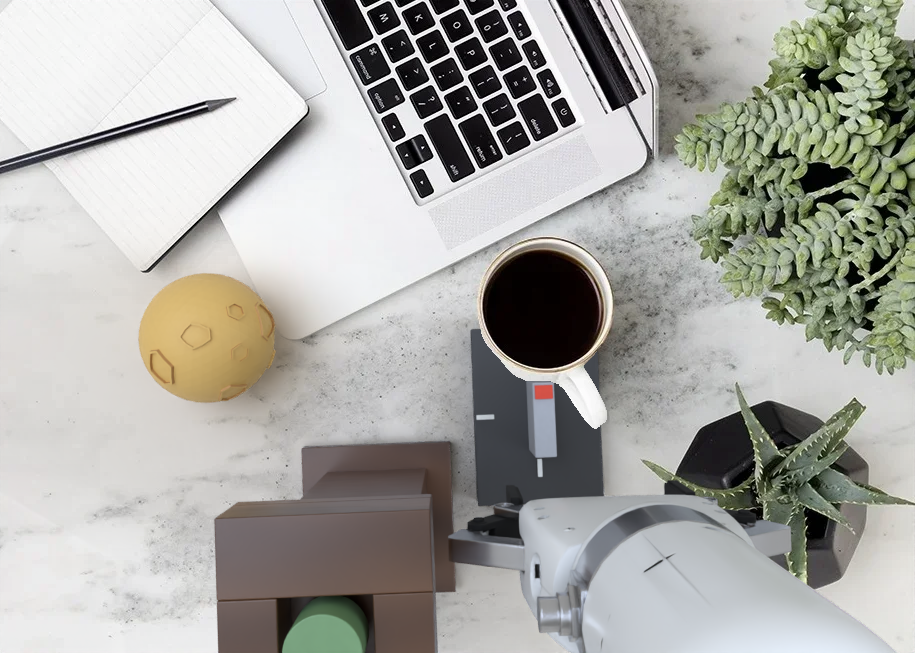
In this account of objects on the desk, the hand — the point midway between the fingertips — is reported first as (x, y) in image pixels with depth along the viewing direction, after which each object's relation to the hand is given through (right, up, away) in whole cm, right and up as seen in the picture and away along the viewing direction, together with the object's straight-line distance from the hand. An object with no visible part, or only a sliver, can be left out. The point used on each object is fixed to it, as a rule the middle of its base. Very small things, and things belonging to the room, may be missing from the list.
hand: (591, 507), depth 47 cm
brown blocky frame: (-14, -4, -7) cm, 16 cm away
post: (-14, -5, +17) cm, 22 cm away
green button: (-14, -4, -10) cm, 18 cm away
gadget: (-2, +4, +17) cm, 17 cm away
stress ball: (-27, +10, +17) cm, 33 cm away
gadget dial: (-2, +4, +14) cm, 15 cm away
